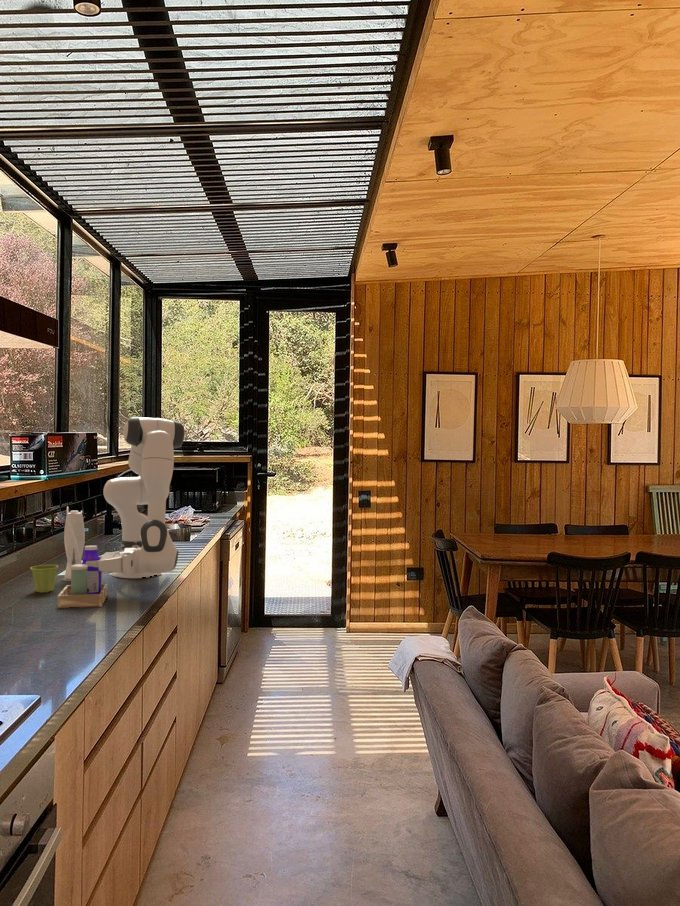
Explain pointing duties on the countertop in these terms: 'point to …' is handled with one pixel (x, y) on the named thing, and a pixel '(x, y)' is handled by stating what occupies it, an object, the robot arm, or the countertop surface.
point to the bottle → (92, 571)
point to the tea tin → (79, 579)
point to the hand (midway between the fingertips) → (87, 561)
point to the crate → (81, 598)
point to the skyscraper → (73, 540)
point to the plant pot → (44, 577)
